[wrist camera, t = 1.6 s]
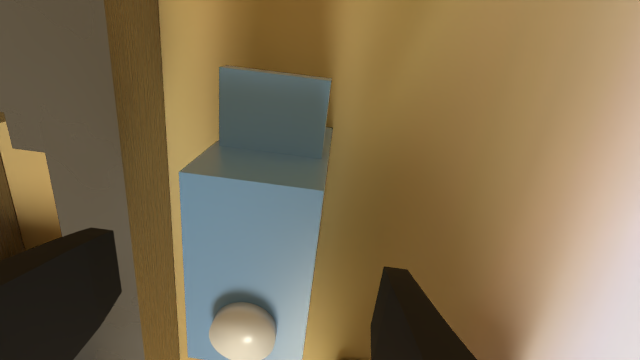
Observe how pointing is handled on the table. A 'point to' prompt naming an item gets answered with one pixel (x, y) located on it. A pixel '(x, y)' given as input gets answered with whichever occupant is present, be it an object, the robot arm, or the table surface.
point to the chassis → (97, 150)
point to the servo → (255, 217)
